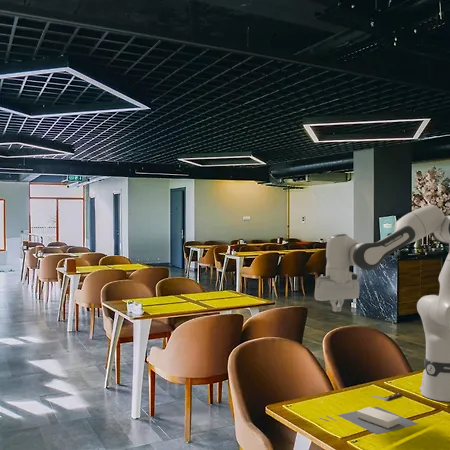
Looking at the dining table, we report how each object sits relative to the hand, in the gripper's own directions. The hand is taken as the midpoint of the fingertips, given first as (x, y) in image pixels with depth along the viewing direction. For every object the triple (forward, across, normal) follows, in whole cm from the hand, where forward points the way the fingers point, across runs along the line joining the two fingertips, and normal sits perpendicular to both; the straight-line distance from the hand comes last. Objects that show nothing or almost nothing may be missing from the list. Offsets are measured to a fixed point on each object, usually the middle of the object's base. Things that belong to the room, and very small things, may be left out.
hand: (336, 311), depth 191 cm
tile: (+31, -7, -21) cm, 38 cm away
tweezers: (+34, -19, -23) cm, 45 cm away
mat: (+33, -5, -26) cm, 42 cm away
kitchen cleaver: (+34, +12, -10) cm, 37 cm away
